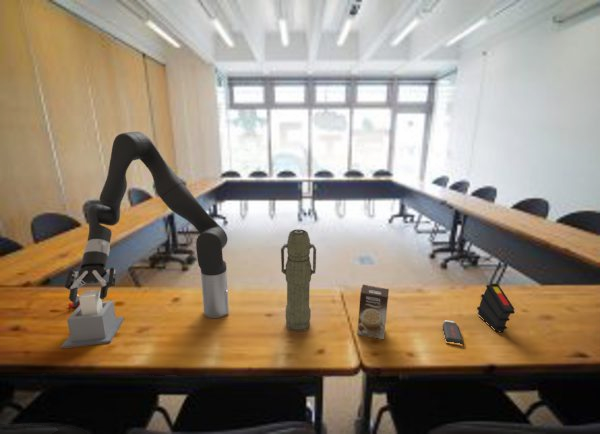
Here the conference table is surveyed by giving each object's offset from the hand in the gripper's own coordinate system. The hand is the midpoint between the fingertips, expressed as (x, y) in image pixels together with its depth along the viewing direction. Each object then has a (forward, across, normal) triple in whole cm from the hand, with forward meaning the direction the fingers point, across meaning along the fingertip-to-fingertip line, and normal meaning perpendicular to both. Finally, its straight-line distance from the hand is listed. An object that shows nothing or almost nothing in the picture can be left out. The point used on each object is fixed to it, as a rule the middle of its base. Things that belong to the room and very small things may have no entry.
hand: (87, 300), depth 102 cm
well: (+8, 0, +10) cm, 13 cm away
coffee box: (+22, +93, -3) cm, 96 cm away
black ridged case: (+25, +138, -7) cm, 140 cm away
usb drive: (+27, +120, -7) cm, 123 cm away
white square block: (+8, 0, +10) cm, 12 cm away
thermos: (+15, +69, +4) cm, 71 cm away
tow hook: (-8, -12, +27) cm, 30 cm away
